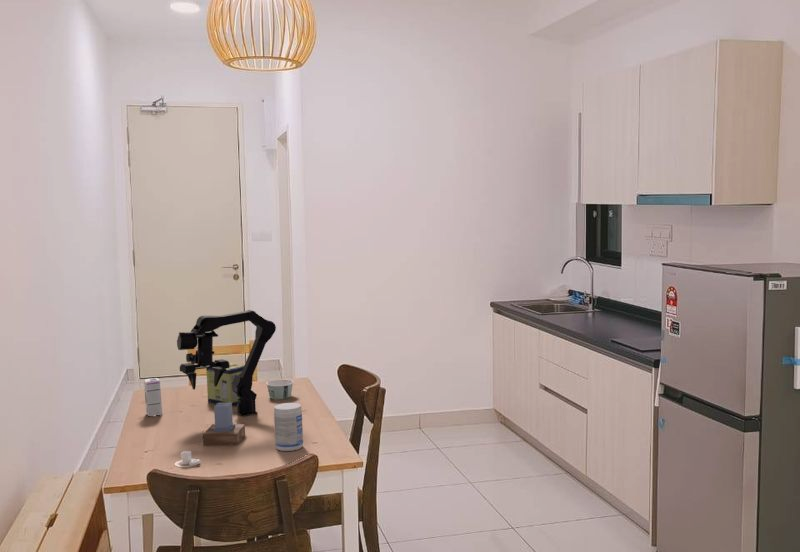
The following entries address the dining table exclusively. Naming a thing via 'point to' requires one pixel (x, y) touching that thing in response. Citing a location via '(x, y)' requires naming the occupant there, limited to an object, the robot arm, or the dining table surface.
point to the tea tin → (223, 417)
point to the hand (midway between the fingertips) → (204, 387)
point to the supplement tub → (288, 426)
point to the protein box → (223, 385)
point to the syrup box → (153, 396)
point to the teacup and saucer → (187, 459)
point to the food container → (280, 388)
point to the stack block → (224, 436)
